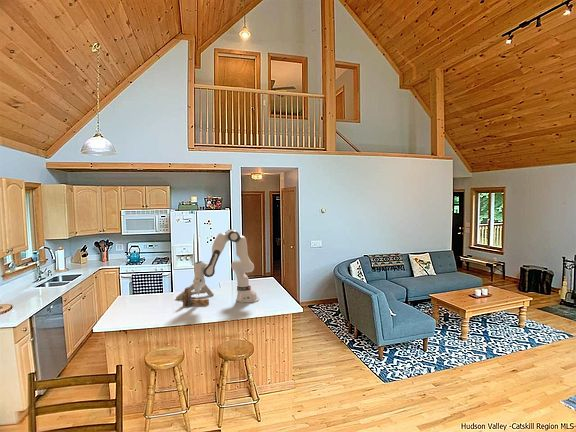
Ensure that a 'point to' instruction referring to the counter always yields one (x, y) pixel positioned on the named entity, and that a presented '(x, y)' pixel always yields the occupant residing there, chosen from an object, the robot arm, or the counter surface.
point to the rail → (200, 301)
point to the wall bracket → (205, 290)
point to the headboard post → (187, 297)
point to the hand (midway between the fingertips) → (200, 292)
